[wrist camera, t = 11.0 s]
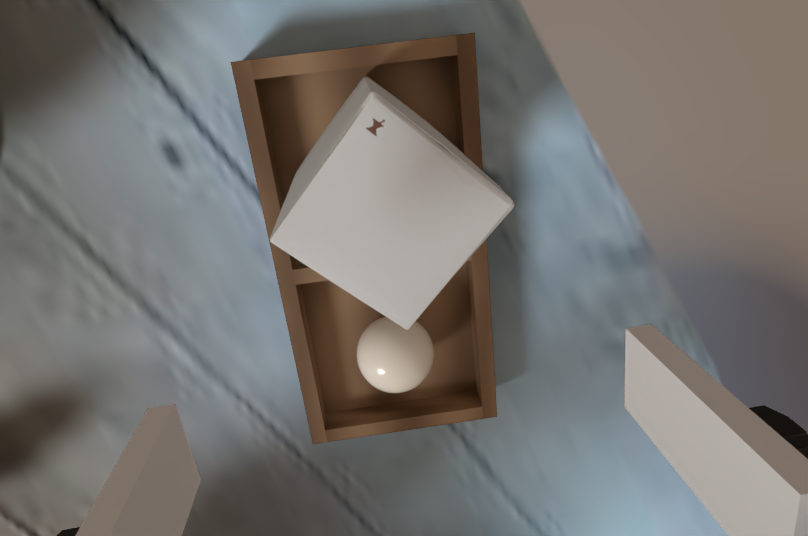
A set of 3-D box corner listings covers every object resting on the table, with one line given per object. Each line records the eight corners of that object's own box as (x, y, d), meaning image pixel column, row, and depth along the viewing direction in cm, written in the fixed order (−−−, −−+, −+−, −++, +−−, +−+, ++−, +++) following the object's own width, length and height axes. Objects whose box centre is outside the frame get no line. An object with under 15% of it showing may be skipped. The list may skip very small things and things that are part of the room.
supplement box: (292, 173, 33) (259, 239, 22) (365, 71, 31) (374, 82, 20) (388, 242, 35) (406, 337, 24) (462, 150, 34) (522, 203, 22)
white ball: (361, 371, 39) (363, 414, 34) (351, 307, 37) (351, 344, 32) (431, 360, 39) (442, 402, 34) (424, 297, 37) (435, 332, 32)
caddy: (315, 417, 41) (312, 444, 38) (241, 61, 32) (230, 62, 29) (487, 392, 41) (497, 416, 39) (463, 34, 32) (474, 32, 29)
